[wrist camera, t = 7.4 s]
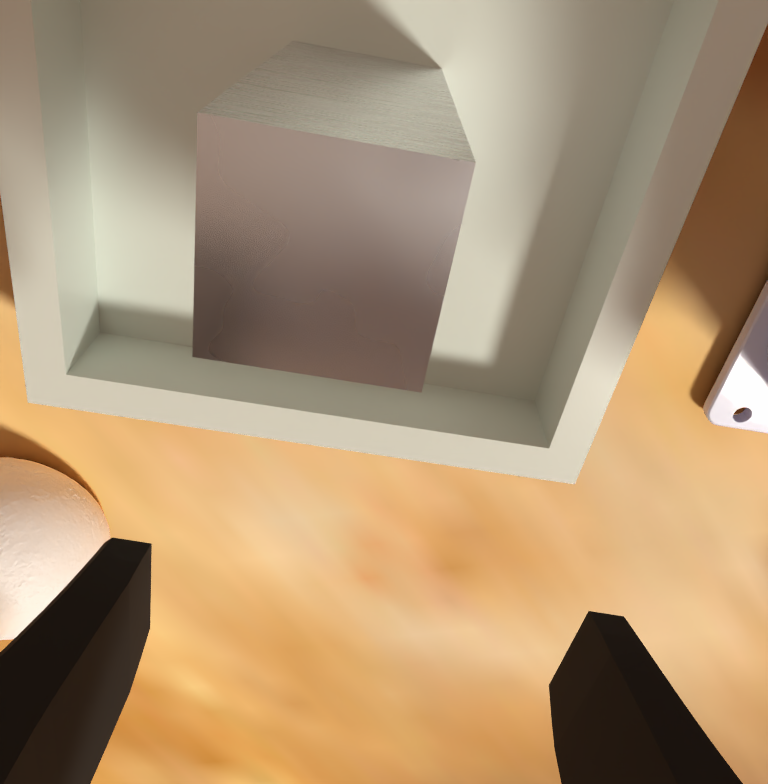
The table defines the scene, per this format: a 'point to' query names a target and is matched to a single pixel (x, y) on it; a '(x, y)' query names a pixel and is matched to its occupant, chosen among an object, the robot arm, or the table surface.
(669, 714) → the robot arm
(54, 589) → the garlic bulb
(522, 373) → the tray
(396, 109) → the pin
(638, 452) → the table surface
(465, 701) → the table surface
